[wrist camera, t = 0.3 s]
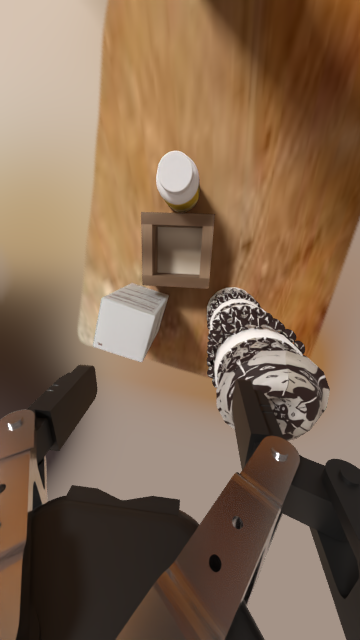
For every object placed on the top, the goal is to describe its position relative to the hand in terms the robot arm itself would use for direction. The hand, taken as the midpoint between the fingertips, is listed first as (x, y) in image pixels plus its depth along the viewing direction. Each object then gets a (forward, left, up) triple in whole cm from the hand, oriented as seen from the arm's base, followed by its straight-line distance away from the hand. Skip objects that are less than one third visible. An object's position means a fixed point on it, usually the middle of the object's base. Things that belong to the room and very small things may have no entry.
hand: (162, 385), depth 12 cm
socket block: (-7, -2, -27) cm, 28 cm away
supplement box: (+3, -8, -27) cm, 29 cm away
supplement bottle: (-15, -2, -27) cm, 31 cm away
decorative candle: (+3, +7, -27) cm, 29 cm away
